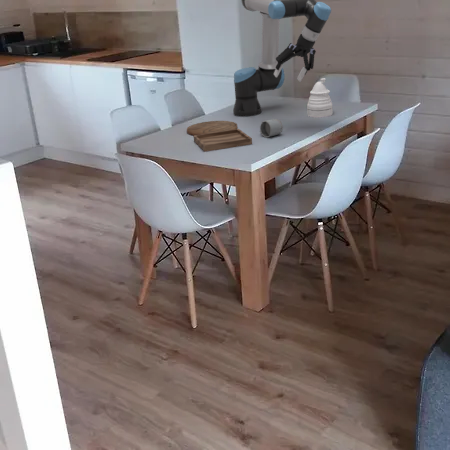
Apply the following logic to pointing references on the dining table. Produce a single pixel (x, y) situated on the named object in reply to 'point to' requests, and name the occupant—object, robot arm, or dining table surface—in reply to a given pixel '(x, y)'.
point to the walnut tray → (222, 140)
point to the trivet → (210, 127)
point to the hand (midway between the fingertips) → (287, 77)
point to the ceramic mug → (271, 128)
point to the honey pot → (319, 101)
